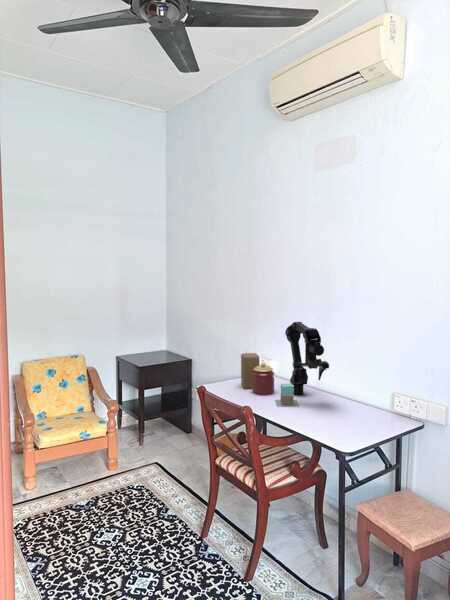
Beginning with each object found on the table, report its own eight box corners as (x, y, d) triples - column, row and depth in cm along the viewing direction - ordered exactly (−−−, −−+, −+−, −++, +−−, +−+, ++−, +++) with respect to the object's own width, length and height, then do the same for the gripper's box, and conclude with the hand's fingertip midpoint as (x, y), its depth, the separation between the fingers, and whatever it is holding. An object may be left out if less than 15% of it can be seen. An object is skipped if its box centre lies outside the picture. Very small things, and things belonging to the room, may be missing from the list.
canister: (273, 389, 264) (273, 360, 262) (275, 396, 251) (275, 365, 249) (251, 389, 264) (251, 360, 262) (252, 396, 251) (252, 365, 250)
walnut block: (280, 401, 239) (280, 392, 239) (291, 401, 239) (291, 392, 239) (282, 405, 233) (282, 395, 233) (293, 404, 233) (293, 395, 233)
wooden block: (241, 384, 275) (240, 353, 273) (256, 383, 276) (256, 352, 274) (243, 389, 265) (243, 356, 263) (259, 388, 266) (259, 356, 264)
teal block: (280, 392, 239) (280, 383, 238) (291, 392, 239) (291, 383, 238) (282, 395, 233) (282, 386, 233) (293, 395, 233) (293, 386, 232)
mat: (274, 400, 242) (274, 399, 242) (296, 400, 242) (296, 399, 242) (277, 407, 230) (277, 407, 230) (299, 407, 230) (299, 406, 230)
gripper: (295, 355, 227) (295, 384, 228) (331, 355, 227) (331, 384, 228) (292, 351, 238) (292, 379, 239) (326, 350, 238) (326, 378, 239)
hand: (310, 380), depth 236 cm, fingers open, 9 cm apart
